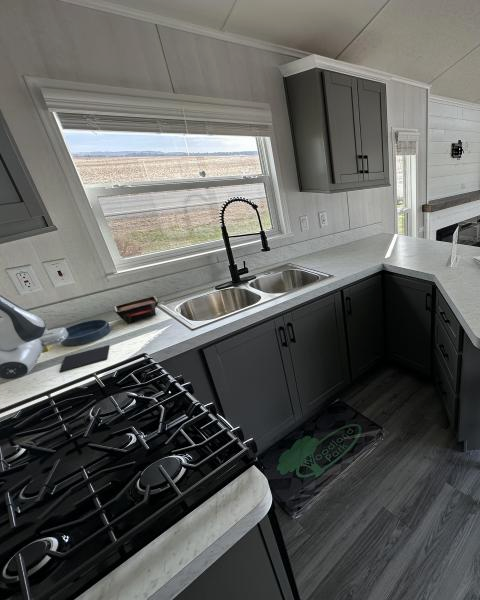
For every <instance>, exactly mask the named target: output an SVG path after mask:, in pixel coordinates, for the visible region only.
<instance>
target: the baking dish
mask: <svg viewBox="0 0 480 600" xmlns="http://www.w3.org/2000/svg"><path fill="white" fill-rule="evenodd" d="M158 304H159V298H158V296H155V295H151V296H148V297H144V298H139V299H136V300H131V301H129V302H124V303H122V304H121V303H120V304H117V305H115V306H114V307H113V312H114V313H115V314H116V315H118V316H119V317H120V318H121V319H122V320H123V322H124V323H126V325H131V324H134V323H137V322H140V321H143V320H146V319H150V318H153V317H156V316H157V313H156V308H157V306H158Z"/></svg>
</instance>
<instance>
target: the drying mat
mask: <svg viewBox="0 0 480 600" xmlns="http://www.w3.org/2000/svg"><path fill="white" fill-rule="evenodd" d="M110 347H111V346H110V344H107V345H103V346H101V347H96V348H93V349H89V350H85V351H81V352H78V353H77V352H76V353H73V354H69V355H66V356H64V359H63V361H62V364H61V366H60V368H59V373H63V372H67V371H70V370H74V369H78V368H81V367H85V366H89V365H92V364H95V363H99V362H102V361H103V362H104V361H106V360H108V358H109V357H108V356H109V352H110Z"/></svg>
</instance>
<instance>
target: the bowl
mask: <svg viewBox="0 0 480 600" xmlns="http://www.w3.org/2000/svg"><path fill="white" fill-rule="evenodd" d="M64 328H65V329H66V330H67V332H68V336H67V338H66V339H65V340H64V341H63V342H61V343H60V345H62V346H67V347H74V346H75V347H76V346H81V345H85V344H90V343H92V342H94V341H97V340H99V339H102V338H103V337H105V336H106V335H108V334H109V333H110V332H111V330H112V327H111V324H110V323H109V321H108V320H106V319H99V318H98V319H90V320H85V321H82V322H78V323H75V324H71V325H70V326H67V327H64Z"/></svg>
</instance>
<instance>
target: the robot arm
mask: <svg viewBox="0 0 480 600" xmlns="http://www.w3.org/2000/svg"><path fill="white" fill-rule="evenodd" d="M0 317H1V318H2V319H0V379H1V380H3V379H4V380H15V379H20V378H22V377H24V376H27V374H29V373H30V372H31V371H32V370H33V369H34V367H35V366H36V364H37V363H38V360H39V359H40V357H41V355H42V354H43V353H42V351H43V349H44V347H46V346H50V345H52V346H53V345H57V344H61V342H63V341H64V340H65V339H66V338H67V336H68V332H67V330H66V329H65V328H66V327H63V326H61V327H58V328H52V329H50V330H48V329H47V327H46V322H45V321H44V320H43V319H42V318H41V317H40V316H38V315H36V314H34V313H33V312H31V311H29V310H27V309H24V308H23V307H21V306H19V305H18V304H16V303H14V302H13V301H11V300H9V299H8V298H6V297H4V296H3V295H1V294H0Z"/></svg>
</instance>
